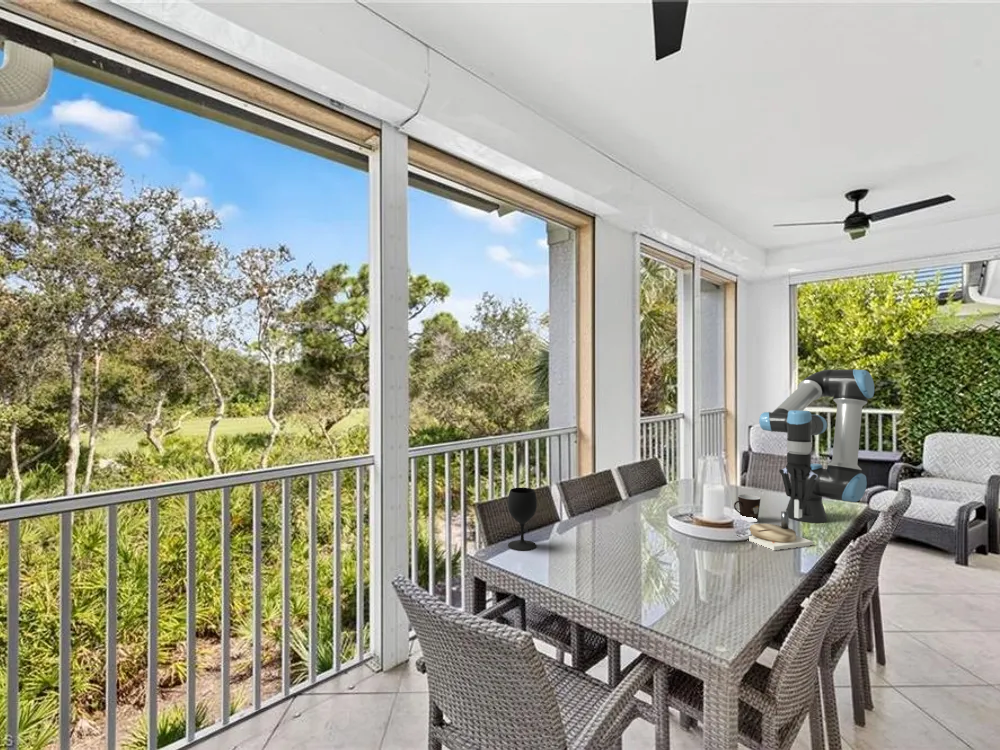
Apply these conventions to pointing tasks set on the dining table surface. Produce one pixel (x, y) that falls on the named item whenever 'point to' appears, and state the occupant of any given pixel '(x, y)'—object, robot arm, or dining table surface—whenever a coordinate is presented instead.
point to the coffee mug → (748, 505)
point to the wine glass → (522, 514)
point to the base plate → (781, 543)
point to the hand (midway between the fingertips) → (798, 517)
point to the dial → (775, 530)
